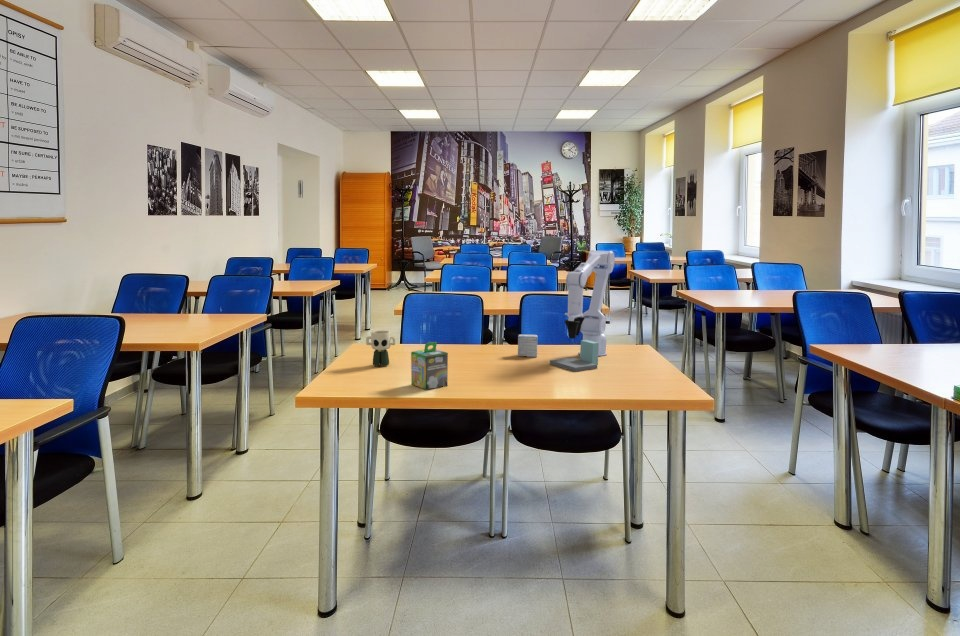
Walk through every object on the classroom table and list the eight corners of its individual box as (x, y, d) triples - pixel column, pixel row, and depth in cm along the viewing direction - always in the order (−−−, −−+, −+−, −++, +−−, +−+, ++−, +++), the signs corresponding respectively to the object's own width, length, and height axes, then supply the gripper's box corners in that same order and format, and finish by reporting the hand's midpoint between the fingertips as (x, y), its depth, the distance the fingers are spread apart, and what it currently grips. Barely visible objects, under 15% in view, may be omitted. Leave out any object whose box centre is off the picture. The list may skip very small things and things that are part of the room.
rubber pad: (571, 361, 255) (571, 357, 255) (597, 368, 242) (597, 364, 242) (549, 363, 249) (549, 360, 249) (575, 371, 237) (575, 367, 236)
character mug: (365, 367, 238) (365, 333, 236) (367, 363, 245) (366, 330, 243) (395, 367, 238) (394, 333, 237) (396, 363, 245) (395, 330, 244)
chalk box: (432, 380, 220) (432, 338, 218) (448, 386, 213) (448, 342, 211) (410, 384, 214) (410, 341, 212) (425, 390, 207) (425, 345, 205)
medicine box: (537, 355, 265) (537, 334, 264) (536, 357, 261) (537, 336, 260) (518, 354, 266) (518, 334, 265) (517, 356, 262) (518, 336, 260)
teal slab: (585, 362, 254) (586, 339, 252) (597, 365, 248) (598, 342, 247) (579, 362, 252) (580, 340, 251) (592, 366, 246) (593, 343, 245)
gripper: (569, 299, 258) (568, 333, 260) (561, 304, 245) (559, 339, 247) (586, 300, 256) (585, 334, 258) (579, 305, 242) (578, 340, 244)
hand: (574, 336), depth 252 cm, fingers open, 7 cm apart
